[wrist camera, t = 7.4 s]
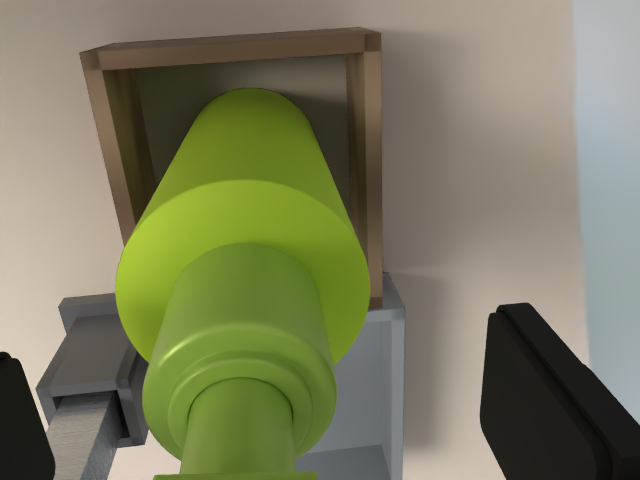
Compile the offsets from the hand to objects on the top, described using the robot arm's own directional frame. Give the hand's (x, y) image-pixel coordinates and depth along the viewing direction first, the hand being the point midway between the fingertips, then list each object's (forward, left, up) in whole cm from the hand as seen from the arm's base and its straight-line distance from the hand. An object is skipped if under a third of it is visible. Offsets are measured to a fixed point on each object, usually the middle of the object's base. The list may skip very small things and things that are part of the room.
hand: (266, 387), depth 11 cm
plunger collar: (+8, -8, -15) cm, 19 cm away
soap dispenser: (0, 0, -15) cm, 15 cm away
